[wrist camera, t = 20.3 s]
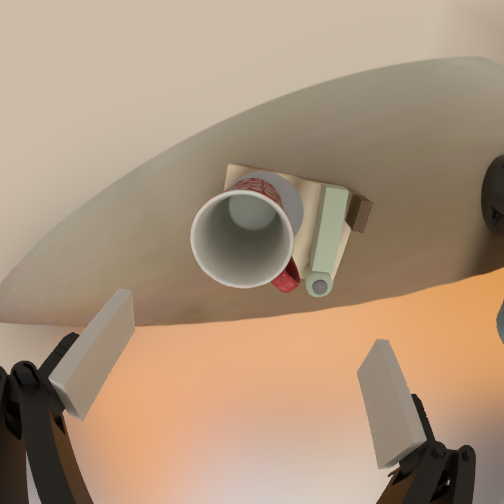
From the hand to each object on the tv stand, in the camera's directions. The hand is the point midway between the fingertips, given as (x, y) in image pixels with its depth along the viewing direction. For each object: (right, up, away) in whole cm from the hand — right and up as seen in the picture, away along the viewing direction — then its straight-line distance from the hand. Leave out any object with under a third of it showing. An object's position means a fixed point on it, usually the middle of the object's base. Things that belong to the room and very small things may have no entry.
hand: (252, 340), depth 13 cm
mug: (+1, +9, +23) cm, 25 cm away
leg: (+10, +6, +23) cm, 26 cm away
